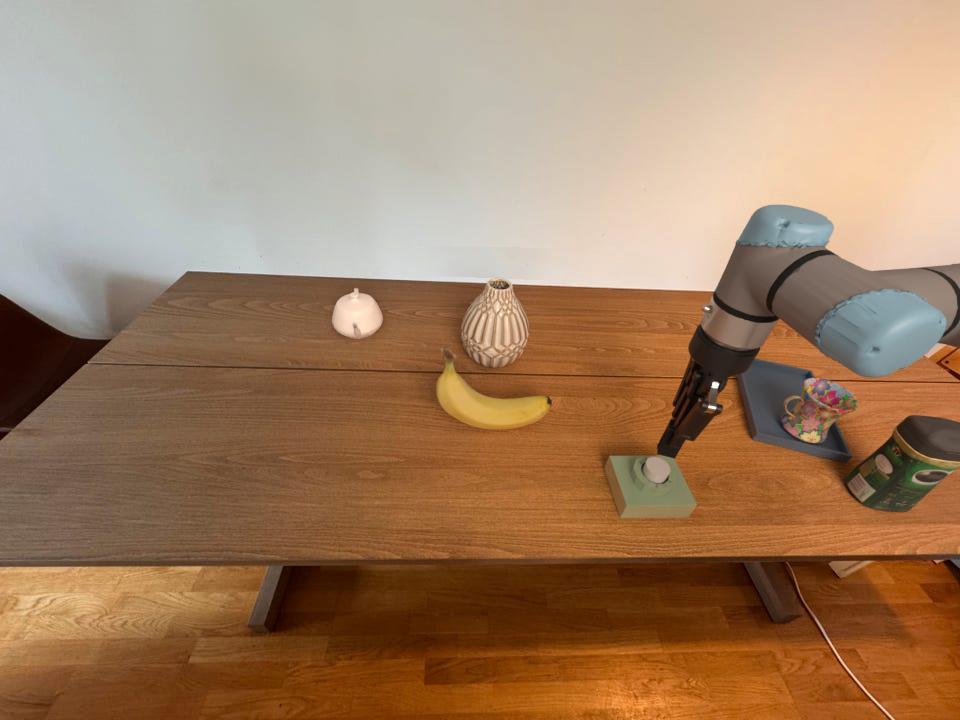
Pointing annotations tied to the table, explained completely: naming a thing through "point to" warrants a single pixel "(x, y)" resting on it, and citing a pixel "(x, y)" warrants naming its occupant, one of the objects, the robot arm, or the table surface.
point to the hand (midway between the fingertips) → (665, 452)
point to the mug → (817, 409)
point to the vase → (495, 326)
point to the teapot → (357, 315)
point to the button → (656, 470)
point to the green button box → (647, 489)
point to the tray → (782, 409)
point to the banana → (485, 402)
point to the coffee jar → (907, 464)
